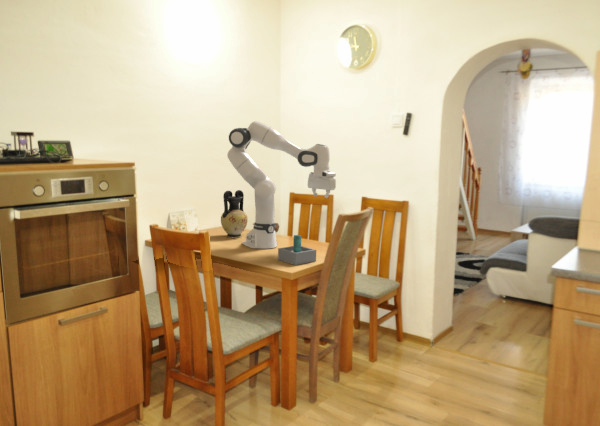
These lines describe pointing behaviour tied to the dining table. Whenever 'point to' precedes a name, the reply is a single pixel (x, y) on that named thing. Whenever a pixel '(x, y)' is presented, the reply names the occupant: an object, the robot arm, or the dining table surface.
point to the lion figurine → (276, 227)
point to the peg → (297, 243)
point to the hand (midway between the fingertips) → (320, 197)
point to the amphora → (234, 214)
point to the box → (297, 255)
